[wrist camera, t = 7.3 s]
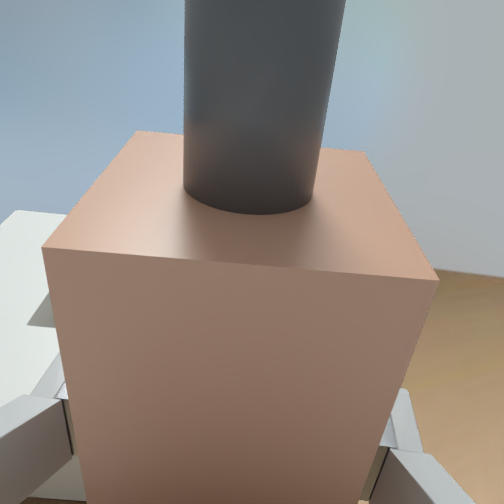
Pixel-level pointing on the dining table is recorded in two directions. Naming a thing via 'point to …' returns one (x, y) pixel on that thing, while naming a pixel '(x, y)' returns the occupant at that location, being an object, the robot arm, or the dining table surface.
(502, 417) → the dining table surface
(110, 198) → the plug
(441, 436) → the dining table surface
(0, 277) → the socket
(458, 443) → the dining table surface
